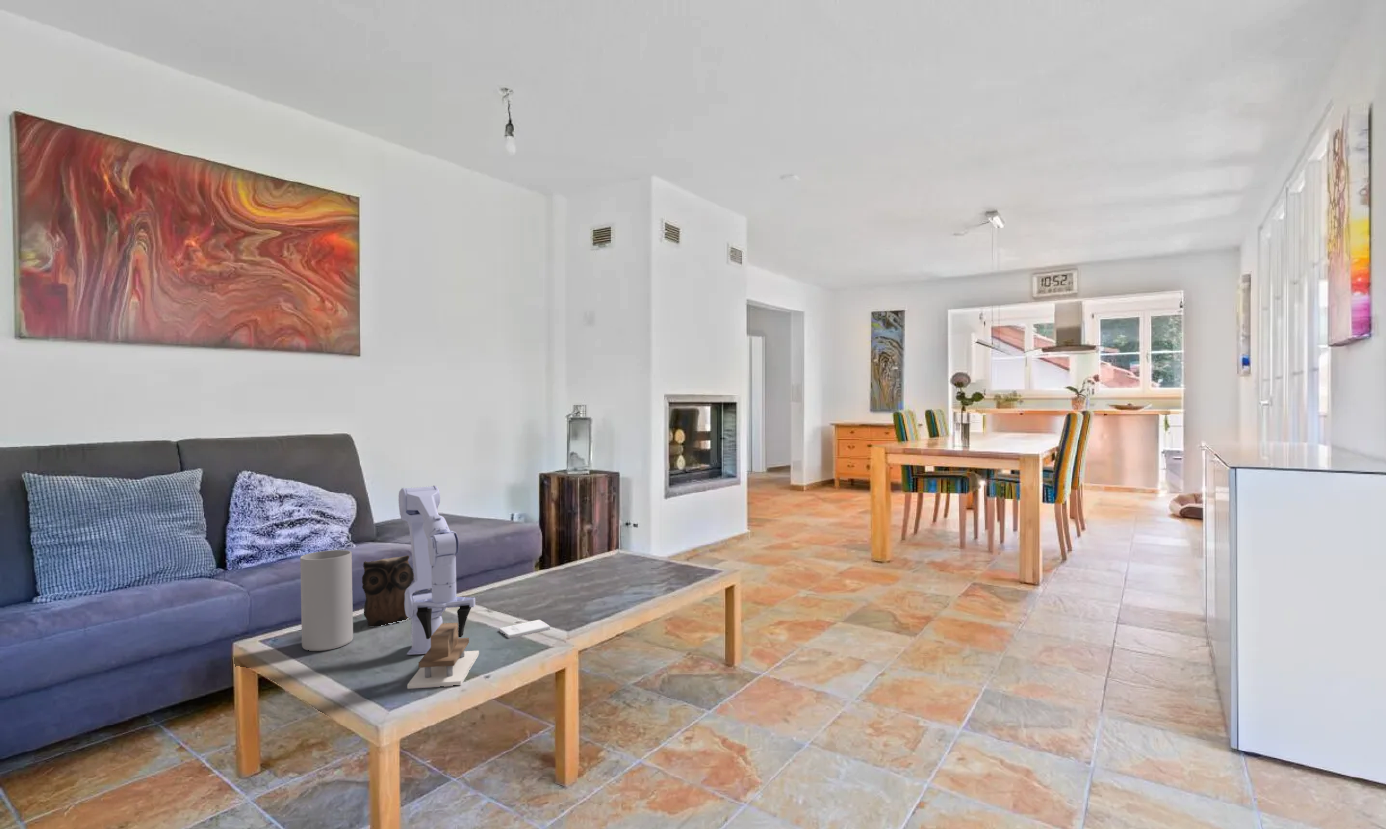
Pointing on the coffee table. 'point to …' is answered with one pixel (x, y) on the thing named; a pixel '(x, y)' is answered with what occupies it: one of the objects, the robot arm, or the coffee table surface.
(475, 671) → the coffee table surface
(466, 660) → the peg base
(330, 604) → the cylinder vase
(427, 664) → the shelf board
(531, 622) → the external hard drive
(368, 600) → the owl
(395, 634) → the coffee table surface
